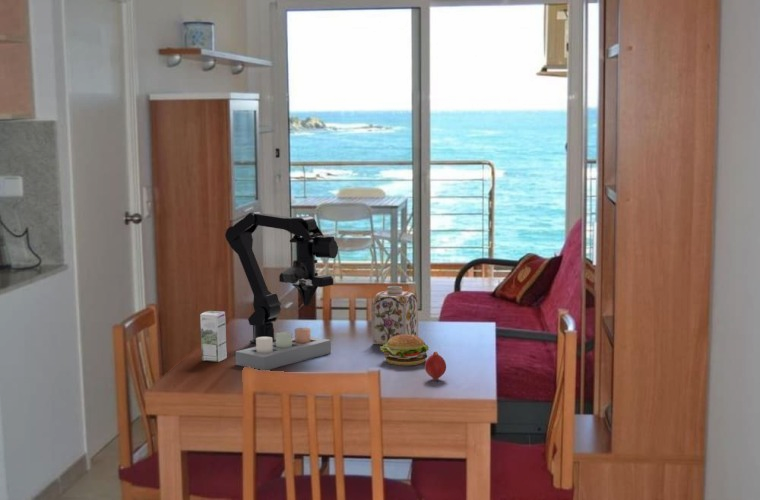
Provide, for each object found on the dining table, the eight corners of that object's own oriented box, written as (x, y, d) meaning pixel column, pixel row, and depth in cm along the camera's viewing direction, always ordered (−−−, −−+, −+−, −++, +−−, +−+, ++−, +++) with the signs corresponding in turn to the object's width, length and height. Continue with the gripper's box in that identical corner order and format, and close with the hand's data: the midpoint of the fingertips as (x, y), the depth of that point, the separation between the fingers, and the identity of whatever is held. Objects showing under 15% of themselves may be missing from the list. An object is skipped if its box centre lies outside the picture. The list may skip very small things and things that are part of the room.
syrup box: (227, 358, 309) (226, 310, 307) (218, 362, 304) (216, 314, 302) (210, 356, 311) (209, 309, 309) (201, 361, 306) (199, 313, 304)
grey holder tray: (235, 364, 301) (235, 351, 300) (303, 347, 322) (302, 335, 321) (264, 370, 293) (263, 357, 292) (330, 352, 314) (330, 340, 313)
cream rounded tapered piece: (253, 360, 301) (252, 338, 300) (265, 357, 304) (264, 335, 304) (264, 362, 298) (263, 340, 297) (276, 359, 301) (275, 337, 301)
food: (373, 359, 305) (372, 333, 304) (415, 354, 311) (415, 328, 310) (392, 369, 293) (391, 342, 292) (436, 364, 298) (435, 337, 297)
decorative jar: (371, 344, 325) (370, 288, 323) (385, 337, 336) (384, 283, 333) (406, 347, 321) (406, 290, 318) (419, 339, 331) (418, 284, 329)
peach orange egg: (292, 350, 313) (291, 329, 312) (303, 347, 317) (302, 326, 316) (303, 352, 310) (302, 331, 309) (314, 349, 313) (313, 328, 313)
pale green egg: (273, 355, 307) (272, 334, 306) (284, 352, 310) (283, 331, 310) (284, 357, 304) (283, 336, 303) (295, 354, 307) (295, 333, 307)
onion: (423, 377, 283) (423, 349, 282) (444, 376, 284) (444, 348, 283) (426, 382, 277) (426, 353, 276) (447, 382, 278) (447, 353, 277)
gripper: (266, 257, 319) (267, 306, 321) (308, 262, 307) (310, 313, 309) (291, 253, 328) (292, 301, 330) (334, 258, 316) (335, 307, 318)
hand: (306, 306), depth 321 cm, fingers closed
